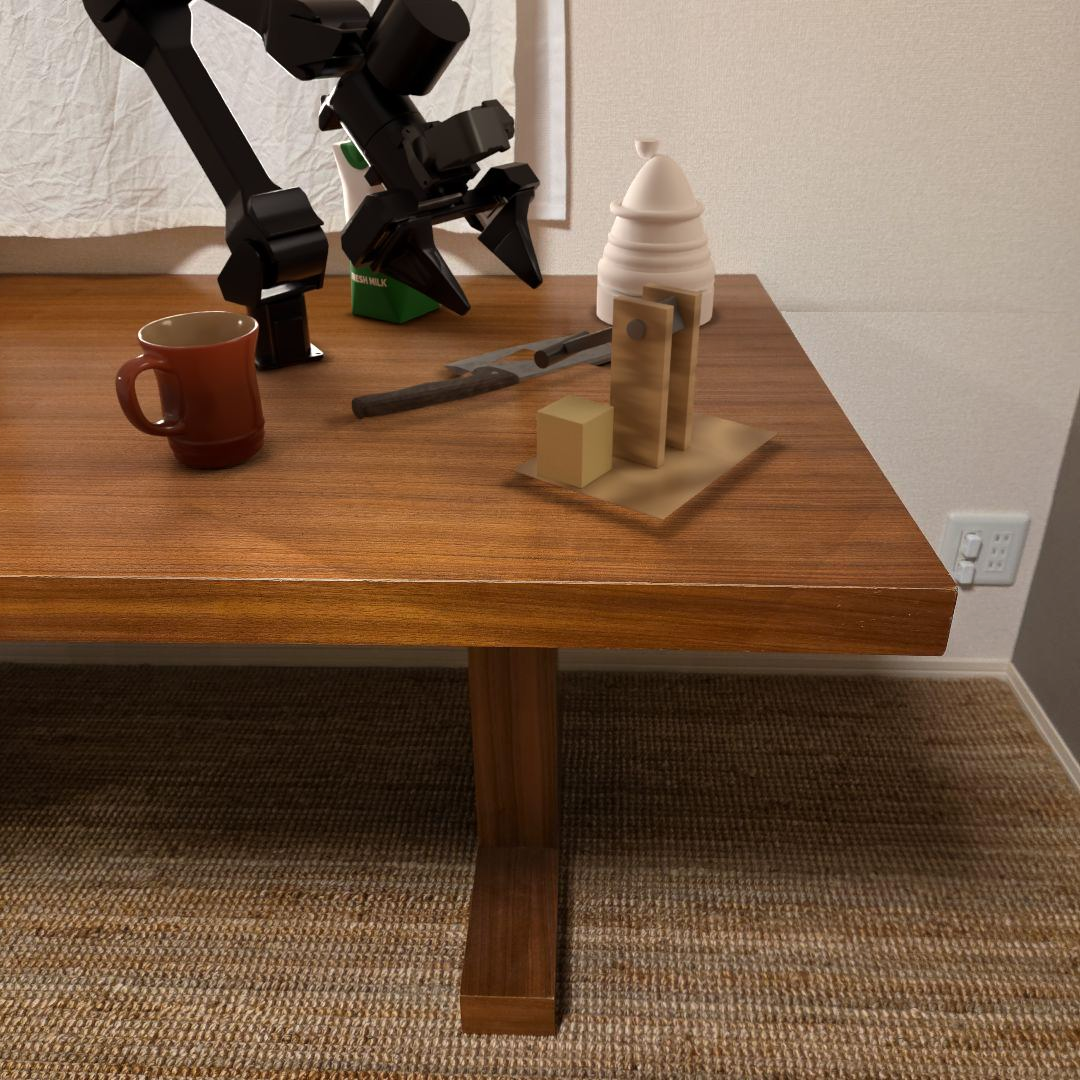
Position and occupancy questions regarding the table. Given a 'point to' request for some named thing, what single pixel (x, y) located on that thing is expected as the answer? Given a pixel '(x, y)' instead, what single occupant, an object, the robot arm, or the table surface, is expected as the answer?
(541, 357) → the dark grey t-shaped bar
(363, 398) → the cleaver
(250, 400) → the mug
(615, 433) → the wooden stand
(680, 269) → the honey pot
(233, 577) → the table surface
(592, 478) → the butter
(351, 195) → the milk carton
